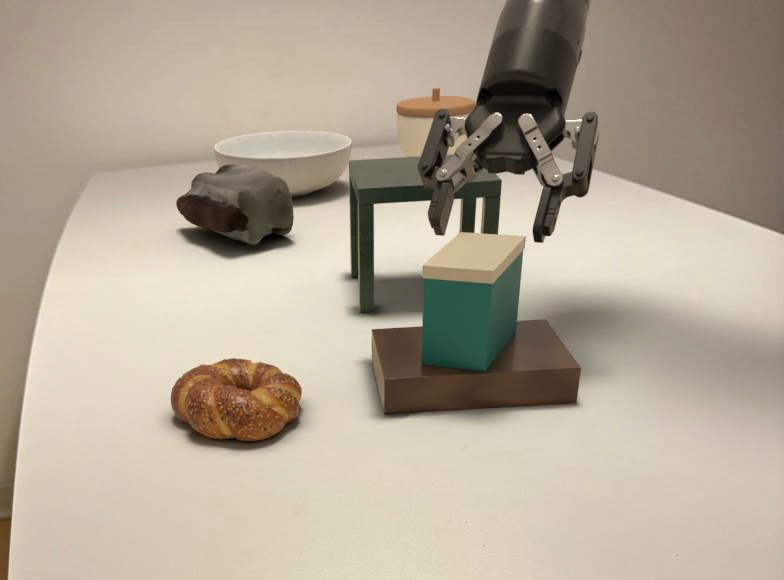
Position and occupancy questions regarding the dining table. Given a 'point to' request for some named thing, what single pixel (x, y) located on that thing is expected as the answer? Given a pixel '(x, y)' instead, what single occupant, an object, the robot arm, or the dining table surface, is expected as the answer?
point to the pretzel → (236, 399)
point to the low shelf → (475, 373)
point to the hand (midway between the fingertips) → (486, 234)
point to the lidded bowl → (427, 119)
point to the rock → (239, 203)
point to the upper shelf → (404, 184)
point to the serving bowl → (290, 156)
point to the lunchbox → (471, 300)
